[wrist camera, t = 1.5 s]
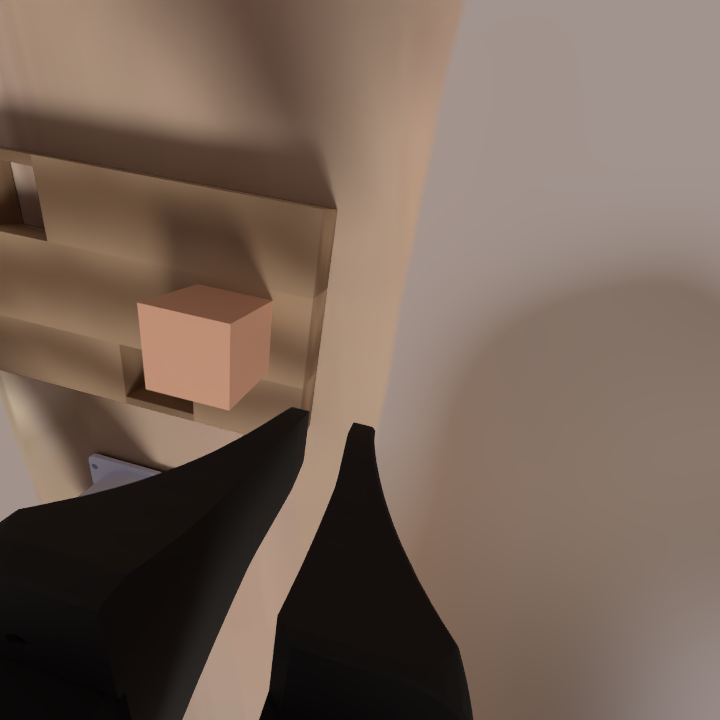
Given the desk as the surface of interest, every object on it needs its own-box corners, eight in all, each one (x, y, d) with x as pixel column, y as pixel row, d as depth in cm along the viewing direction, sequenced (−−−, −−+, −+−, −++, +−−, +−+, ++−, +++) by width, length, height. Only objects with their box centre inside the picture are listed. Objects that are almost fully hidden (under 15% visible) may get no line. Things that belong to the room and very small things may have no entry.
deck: (309, 424, 23) (275, 484, 18) (-42, 334, 25) (-157, 364, 20) (337, 209, 17) (299, 208, 12) (-111, 125, 20) (-289, 96, 15)
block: (268, 372, 19) (229, 410, 15) (199, 355, 19) (145, 389, 16) (273, 300, 17) (230, 324, 14) (197, 284, 18) (137, 302, 14)
